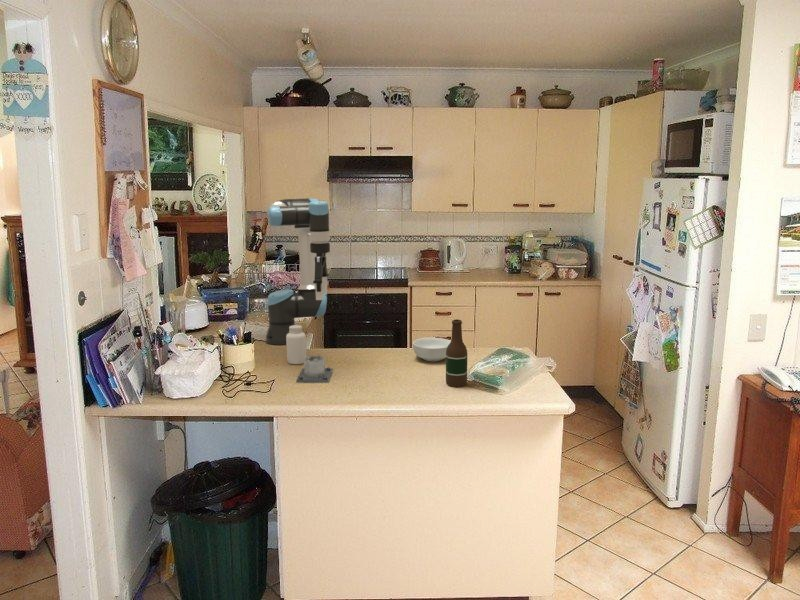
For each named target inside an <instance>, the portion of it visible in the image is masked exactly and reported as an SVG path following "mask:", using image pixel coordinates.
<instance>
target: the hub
mask: <svg viewBox="0 0 800 600" xmlns="http://www.w3.org/2000/svg"><path fill="white" fill-rule="evenodd" d="M303 366H304V367H303V368H304V372H305V376H308V377H320V376H323V375H325V368H326V357H325V356H322V355H310V356H307V357H306V358H305V359H304V363H303Z"/></svg>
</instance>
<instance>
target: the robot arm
mask: <svg viewBox="0 0 800 600" xmlns="http://www.w3.org/2000/svg"><path fill="white" fill-rule="evenodd" d="M329 212H330V209H329V203H328V202H327V201H325V200H324V201H321V200H319V199H318V198H309V197H308V198H284V199H279V200H276V201H274V202H271V204H270V205H268V207H267V210H266V213H267V214H266V215H267V217H268V225H269V226H272V227H274V226H276V227H282V226H285V227H286V226H294V230H295V231H296V232H297V233H298V234H297V235H298V236H297V237H298V252H299V253H298V254H299V269H300V270H299V273H300V274H299V275H300V285H299V287H297V292H295V291H294V290H293V289H291V288H290V289H289V288H287V289H279V290H276V291H275V290H274V291H273V292H270V293H269V294H268V296H267V309H268V311H267V312H268V328H267V331H266V335H265V342H266V343H267V344H269V345H275V346H284V345H286V335H287V334H288V333H290V332H289V331H290V330H289V327H290V326H293V325H296V324H295V322H296V321H295V319H299V318H302V319H303V318H315V317H323V316H324V315H325V314H326V309H327V305H328V304H327V303H328V277H329V273H328V268H327V266H328V265H327V256H326V255H327V253H328V254H329V253H330V252H331V245H330V244H331V243H330V239H331V237H330V236H331V235H330V233H331V232H330V213H329ZM286 346H287V345H286Z"/></svg>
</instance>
